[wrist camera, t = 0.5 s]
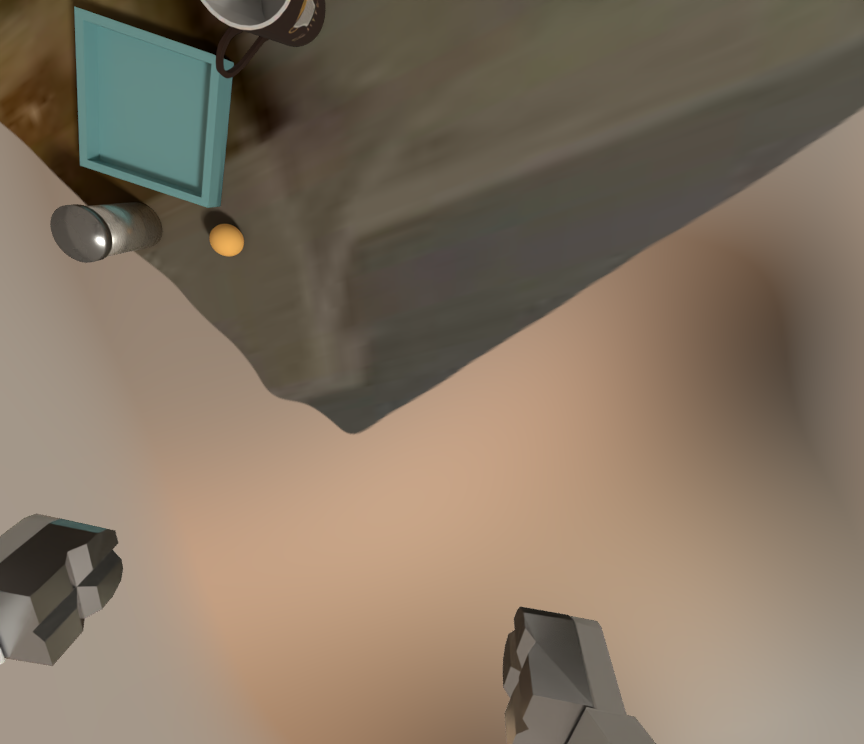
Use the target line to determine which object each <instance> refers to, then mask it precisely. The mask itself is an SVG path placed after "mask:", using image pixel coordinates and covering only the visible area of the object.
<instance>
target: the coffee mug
mask: <svg viewBox="0 0 864 744" xmlns="http://www.w3.org/2000/svg"><path fill="white" fill-rule="evenodd" d="M201 1H202V3H203V4H204V5H205V6H206V8H207V9H208V10H209V11H210V12H211V13H212V14H213V15H214V16H215V17H217V18H218V19H219V20H220V21H222V22H224V23H225V24H227V25H229V26H230V27H229V28H228V29H227V31H226V32H225V34H224V35H223V37H222V38H221V40H220V42H219V44H218V48H217V53H216V69H217V71H218V72H219V73H220V74H221V75H222V76H223V77H225V78H232V77H233V76H235V75H236V74H238V73H239V72H240V71H241V70H242V69H243V68H244V67H245V66H246V65H247V63H248V62H249V61H250V60H251V58H252V57H253V56H254V55H255V53H256V52H257V51H258V49H259V48H260V47H261V46H262V44H263V43H264V42H265V41H267V40H268V39H270V40H273V41H276V42H279V43H282V44H285V45H288V46H293V47H299V46H304V45H306V44H308V43H310V42H311V41H312V40H314V39H315V37H316V36H317V35H318V34H319V32H320V30H321V28H322V26H323V22H324V18H325V0H201ZM242 31H246V32H249V33H252V34H255V35H258V36H259V37H258V39H257V40H256V41H255V43H254V44H253V45H252V46H251V48H250V49H249V50H248V52H247V53H246V54H245V55H244V57H243V58H242V59H241V60H240V61H239V63H238V64H236V65H235V66H233V67H232V68H231V69H229V70H225V69H224V53H225V50H226V48H227V46H228V44H229V42H230V40H231V39H232V38H233V37H234V36H235V35H236V34H239V33H241V32H242Z"/></svg>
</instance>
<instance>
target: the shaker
mask: <svg viewBox="0 0 864 744" xmlns="http://www.w3.org/2000/svg"><path fill="white" fill-rule="evenodd" d="M51 231H52V234H53V237H54V239H55V241H56V243H57V244H58V246H59V247H60V248H61V249H62V250H63V251H64V253H66V254H67V255H68V256H70V257H71V258H73V259H75V260H77V261H80V262H86V263H87V262H94V261H98V260H101V259H104V258H105V257H107V256H111V255H115V254H120V253H124V252H129V251H134V250H139V249H143V248H148V247H152V246H154V245H156V244H157V243H158V242H159V241H160V239H161V237H162V225H161V222H160V219H159V217H158V216H157V214H156V213H155V212H154V211H153V210H152V209H151V208H150V207H148V206H147V205H145V204H143V203H139V202H130V203H117V204H105V205H92V206H84V205H65V206H61V207H59V208H58V209H56V210H55V211H54V213H53V215H52V217H51Z"/></svg>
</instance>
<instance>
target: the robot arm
mask: <svg viewBox="0 0 864 744" xmlns="http://www.w3.org/2000/svg"><path fill="white" fill-rule="evenodd" d="M117 544H118V540H117V536H116V532H115V531H114V530H110V529H106V528H101V527H97V526H92V525H88V524H83V523H78V522H74V521H69V520H65V519H60V518H55V517H50V516H45V515H40V514H34V515H31V516H28V517H26V518H24V519H22V520H21V521H20V522H19V523H17V524H16V525H14V526H13V527H12V528H10V529H9V530H8V531H6V532H5V533H4V534H2V535H1V536H0V664H2V663H3V662H5V658H7V659H13V660H19V661H26V662H31V663H37V664H43V665H50V666H53V665H54V664H55V663H56V662H57V660H58V659H59V658H60V657H61V656H62V655H63V654H64V652H65V651H66V650H67V649H68V648H69V646H70V645H71V644H72V643H73V642H74V641H75V639H77V637H78V636H79V635H80V634H81V633H82V632H83V628H84V619H85V618H86V617H88V616H90V615H92V614H94V613H96V612H98V611H100V610H101V609H102V608H103V607H104V606H105V605H106V604H107V603H108V601H109V600H110V599H111V598H112V597H113V595H114V593H115V591H116V589H117V587H118V585H119V583H120V581H121V578H122V572H123V565H122V560H121V558H120V557H119V556H118V555H117V554H116V553H115V552H114V551H113V548H114V547H115V546H116V545H117ZM514 626H515V630H514V631H513V632H511V633H509V634H508V638H507V641H506V644H505V651H504V657H503V688H504V689H505V691H506V692H507V694H508V696H509V697H510V701H509V703H508V706H507V709H506V711H505V726H506V742H507V744H656V743H655V742H654V740H653V739H652V738H651V737H650V735H649V734H648V733H647V732H646V730H645V729H644V728H643V726H642V725H641V724H640V723H639V722H638V720H637V719H636V718H635V717H634V716H629V715H626V712H625V708H624V705H623V702H622V698H621V694H620V691H619V688H618V684H617V680H616V677H615V674H614V670H613V666H612V663H611V659H610V656H609V652H608V649H607V645H606V642H605V639H604V635H603V631H602V628H601V626H600V624H599V623H598V622H597V621H594V620H589V619H584V618H578V617H573V616H569V615H565V614H560V613H554V612H548V611H543V610H537V609H531V608H525V607H519V609H518V610H517V612H516V614H515V617H514Z"/></svg>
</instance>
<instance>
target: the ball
mask: <svg viewBox="0 0 864 744" xmlns="http://www.w3.org/2000/svg"><path fill="white" fill-rule="evenodd" d="M210 243H211V246H212V247H213V249H214V250H215V251H216V252H217V253H219V254H221V255H223V256H234V255H236V254H238V253H239V252H240V251H241V250H242V248H243V246H244V238H243V235H242V233H241V232H240V231H239V230H238V229H237V228H236V227H235V226H233V225H230V224H220V225H217V226H216V227H214V228H213V229H212V231H211V233H210Z"/></svg>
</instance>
